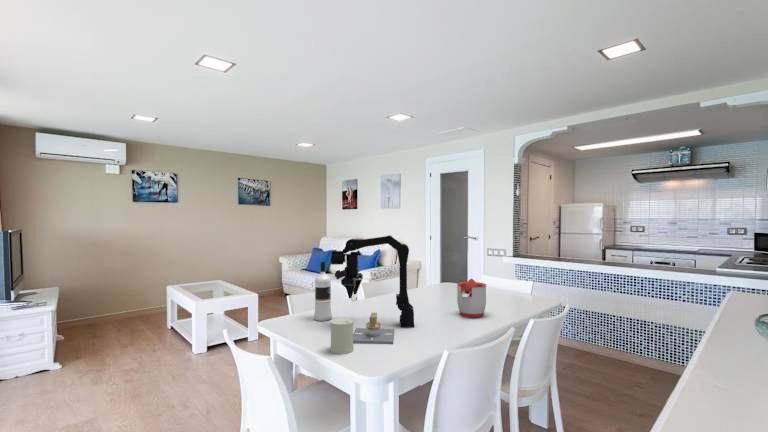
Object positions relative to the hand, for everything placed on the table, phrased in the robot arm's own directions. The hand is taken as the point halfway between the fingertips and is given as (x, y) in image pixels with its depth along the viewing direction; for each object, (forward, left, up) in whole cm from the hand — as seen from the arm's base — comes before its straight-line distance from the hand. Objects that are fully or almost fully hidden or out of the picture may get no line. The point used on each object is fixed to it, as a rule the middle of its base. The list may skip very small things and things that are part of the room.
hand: (352, 296), depth 181 cm
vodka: (+17, -9, -14) cm, 24 cm away
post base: (-12, +18, -14) cm, 25 cm away
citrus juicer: (-61, -20, -14) cm, 66 cm away
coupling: (-12, +18, -10) cm, 23 cm away
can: (-1, +35, -14) cm, 37 cm away
